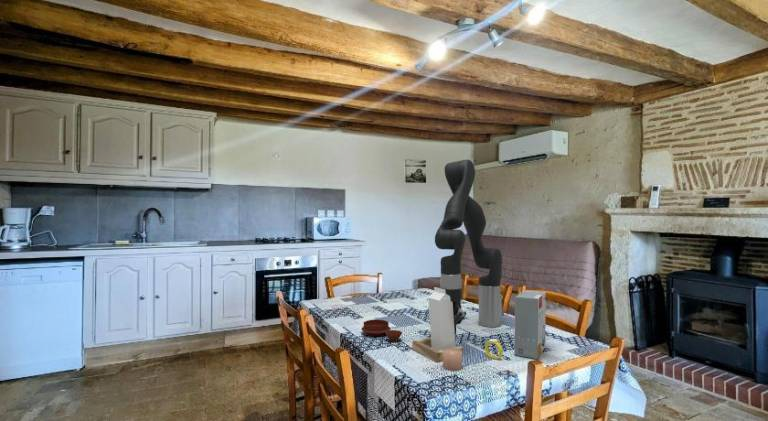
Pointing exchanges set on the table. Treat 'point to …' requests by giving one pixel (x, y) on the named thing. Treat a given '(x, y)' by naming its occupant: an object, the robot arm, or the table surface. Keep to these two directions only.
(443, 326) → the milk
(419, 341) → the display frame
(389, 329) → the pottery
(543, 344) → the hard drive box
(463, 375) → the table surface
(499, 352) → the watch
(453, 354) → the peach rounded capsule
